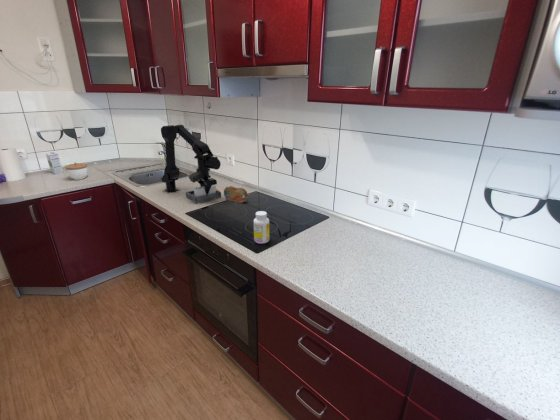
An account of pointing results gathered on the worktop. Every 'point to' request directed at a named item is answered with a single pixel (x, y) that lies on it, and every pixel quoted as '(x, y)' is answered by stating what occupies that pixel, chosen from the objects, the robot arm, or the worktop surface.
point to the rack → (203, 198)
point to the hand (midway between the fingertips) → (205, 193)
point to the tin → (235, 194)
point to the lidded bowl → (77, 170)
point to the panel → (203, 191)
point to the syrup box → (54, 163)
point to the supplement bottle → (261, 227)
